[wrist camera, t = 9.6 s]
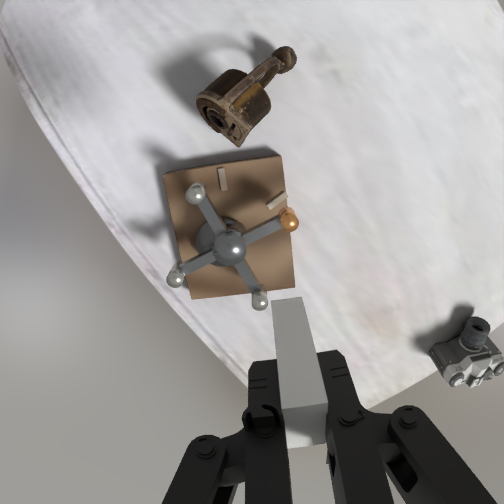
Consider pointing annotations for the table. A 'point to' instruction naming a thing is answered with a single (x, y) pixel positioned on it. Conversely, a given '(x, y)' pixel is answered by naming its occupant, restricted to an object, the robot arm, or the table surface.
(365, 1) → the table surface
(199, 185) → the grey star handwheel
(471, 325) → the camera
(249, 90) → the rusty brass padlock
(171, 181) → the stand board
